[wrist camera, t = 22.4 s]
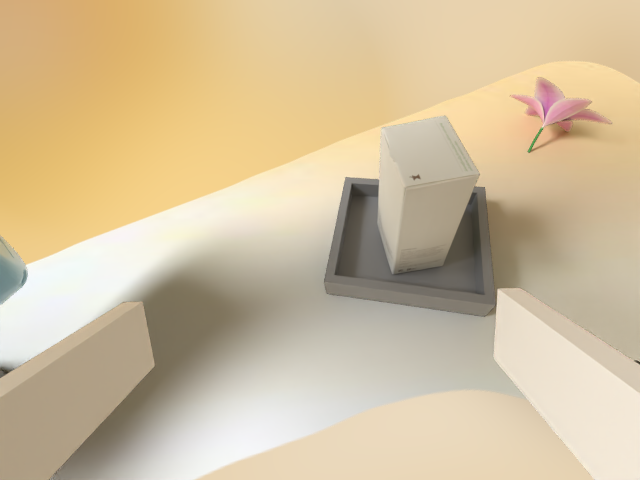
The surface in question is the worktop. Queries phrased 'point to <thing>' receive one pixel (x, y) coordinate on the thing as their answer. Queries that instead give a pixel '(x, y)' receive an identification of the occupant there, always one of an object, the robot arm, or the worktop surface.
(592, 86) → the worktop surface
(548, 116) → the lily
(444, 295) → the tray
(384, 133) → the skincare box
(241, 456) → the worktop surface
